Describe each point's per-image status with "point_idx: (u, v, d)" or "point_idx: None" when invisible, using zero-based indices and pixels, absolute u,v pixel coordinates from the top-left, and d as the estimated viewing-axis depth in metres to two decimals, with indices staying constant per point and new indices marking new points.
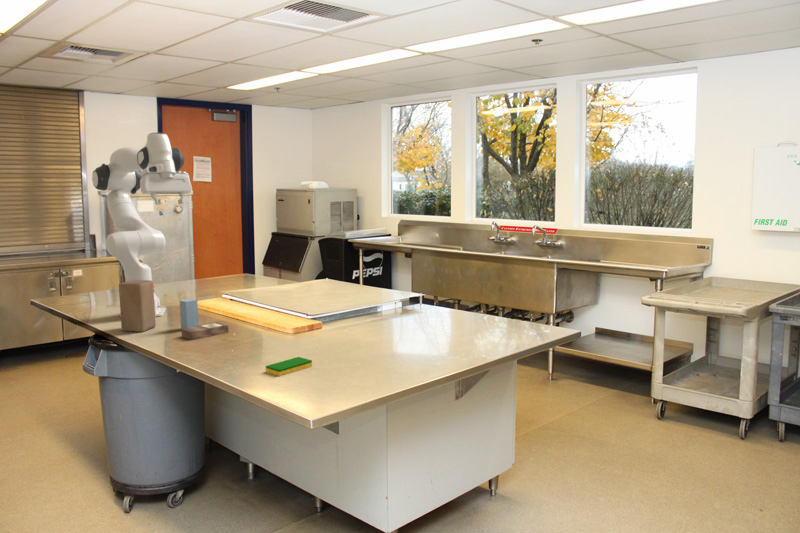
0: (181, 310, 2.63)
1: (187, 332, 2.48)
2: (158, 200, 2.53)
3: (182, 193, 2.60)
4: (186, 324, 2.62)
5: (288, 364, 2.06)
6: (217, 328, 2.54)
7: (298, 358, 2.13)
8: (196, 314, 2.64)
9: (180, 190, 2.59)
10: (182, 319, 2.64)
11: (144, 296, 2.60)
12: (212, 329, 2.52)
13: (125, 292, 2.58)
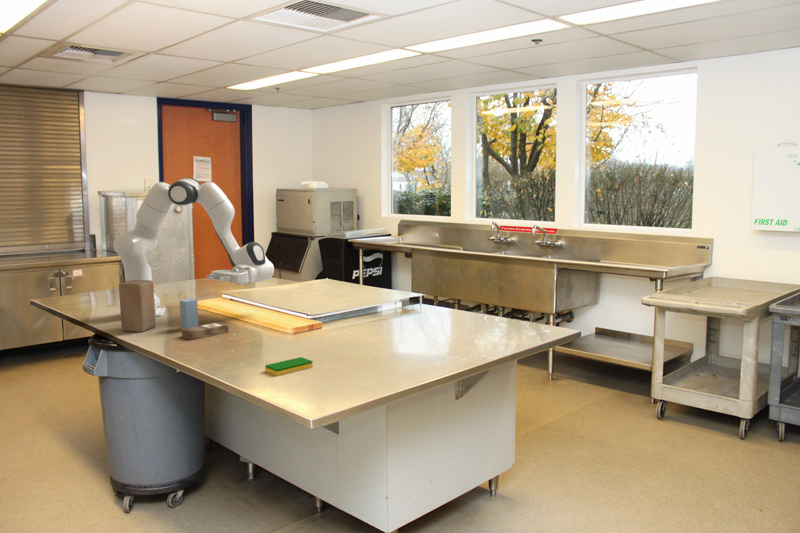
0: (181, 310, 2.63)
1: (187, 332, 2.48)
2: (222, 281, 2.69)
3: (214, 278, 2.78)
4: (186, 324, 2.62)
5: (287, 364, 2.06)
6: (217, 328, 2.54)
7: (300, 358, 2.12)
8: (196, 314, 2.64)
9: (218, 279, 2.79)
10: (182, 319, 2.64)
11: (144, 296, 2.60)
12: (212, 329, 2.52)
13: (125, 292, 2.58)
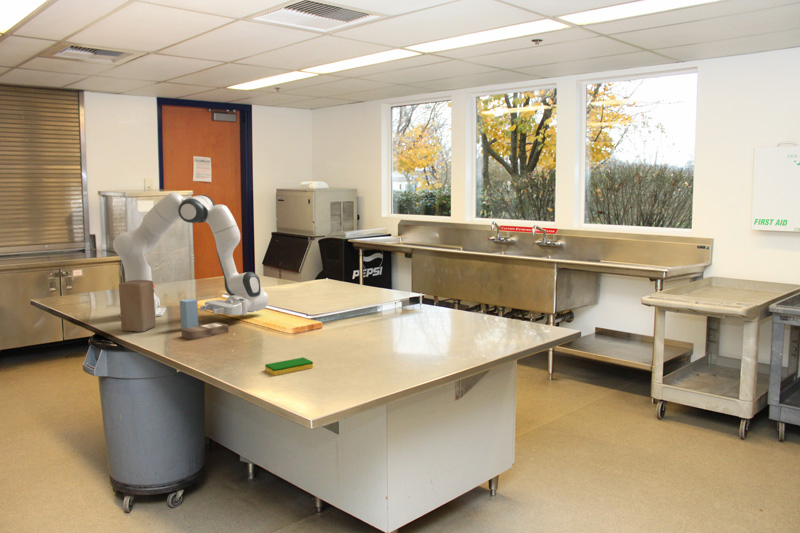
0: (181, 310, 2.63)
1: (187, 332, 2.48)
2: None
3: (208, 309, 2.78)
4: (186, 324, 2.62)
5: (287, 364, 2.06)
6: (217, 328, 2.54)
7: (302, 358, 2.12)
8: (196, 314, 2.64)
9: (212, 310, 2.78)
10: (182, 319, 2.64)
11: (144, 296, 2.60)
12: (212, 329, 2.52)
13: (125, 292, 2.58)
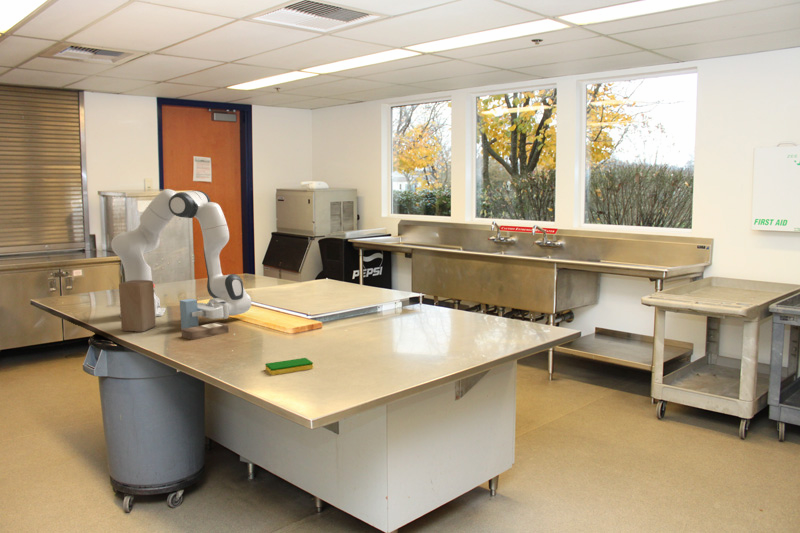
0: (181, 310, 2.63)
1: (187, 332, 2.48)
2: None
3: None
4: (186, 324, 2.62)
5: (286, 364, 2.06)
6: (217, 328, 2.54)
7: (303, 359, 2.11)
8: None
9: None
10: (182, 319, 2.64)
11: (144, 296, 2.60)
12: (212, 329, 2.52)
13: (125, 292, 2.58)
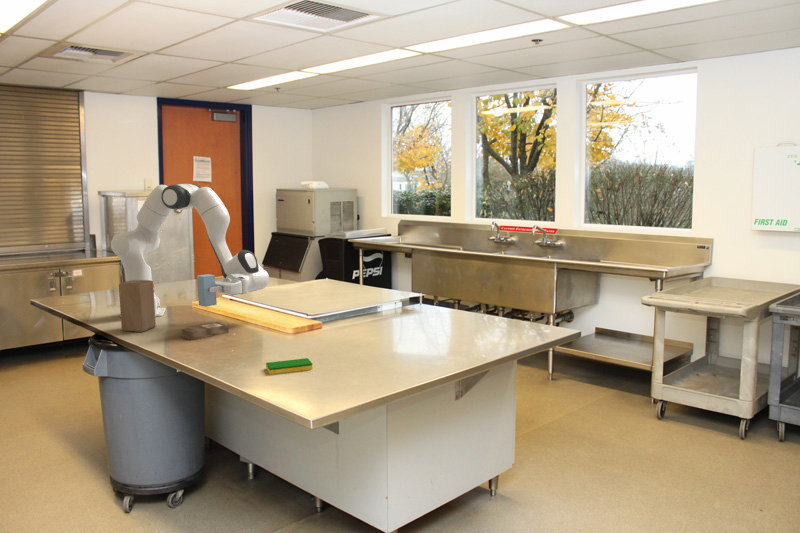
0: (198, 286, 2.55)
1: (187, 332, 2.48)
2: (212, 291, 2.55)
3: None
4: (204, 300, 2.54)
5: (286, 364, 2.06)
6: (217, 328, 2.54)
7: (305, 359, 2.11)
8: None
9: None
10: (200, 295, 2.55)
11: (144, 296, 2.60)
12: (212, 329, 2.52)
13: (125, 292, 2.58)
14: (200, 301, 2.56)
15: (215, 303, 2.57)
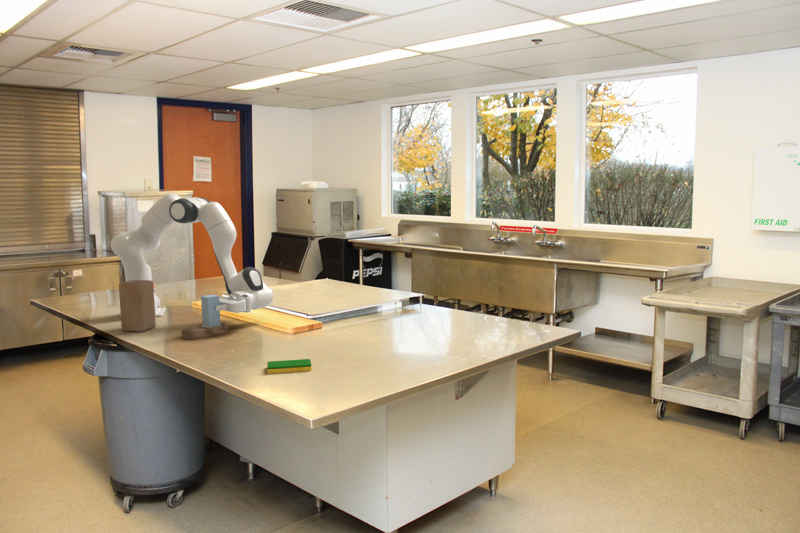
0: (203, 306, 2.55)
1: (187, 332, 2.48)
2: None
3: None
4: (208, 321, 2.53)
5: (285, 364, 2.06)
6: (217, 328, 2.54)
7: (306, 360, 2.10)
8: None
9: None
10: (204, 316, 2.55)
11: (144, 296, 2.60)
12: (212, 329, 2.52)
13: (125, 292, 2.58)
14: (204, 322, 2.55)
15: (219, 324, 2.56)
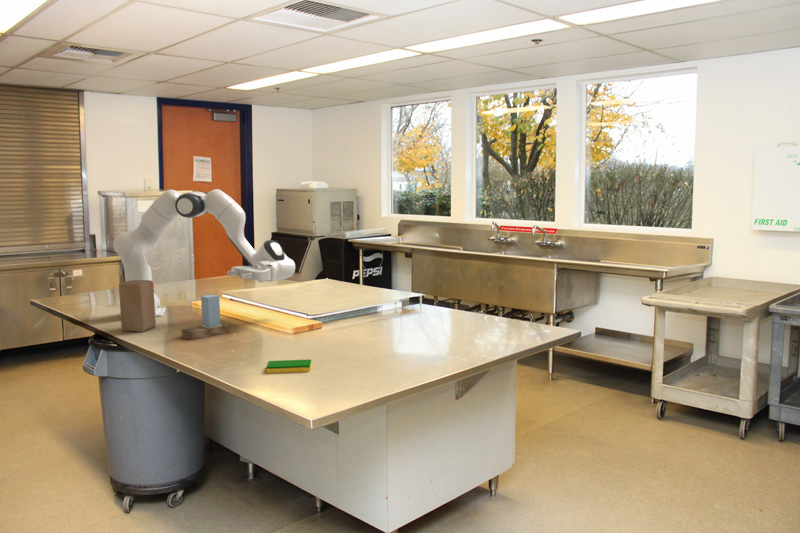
0: (203, 306, 2.55)
1: (187, 332, 2.48)
2: None
3: (235, 274, 2.70)
4: (208, 321, 2.53)
5: (285, 364, 2.06)
6: (217, 328, 2.54)
7: (306, 360, 2.10)
8: (217, 310, 2.55)
9: None
10: (204, 316, 2.55)
11: (144, 296, 2.60)
12: (212, 329, 2.52)
13: (125, 292, 2.58)
14: (204, 322, 2.55)
15: (219, 324, 2.56)
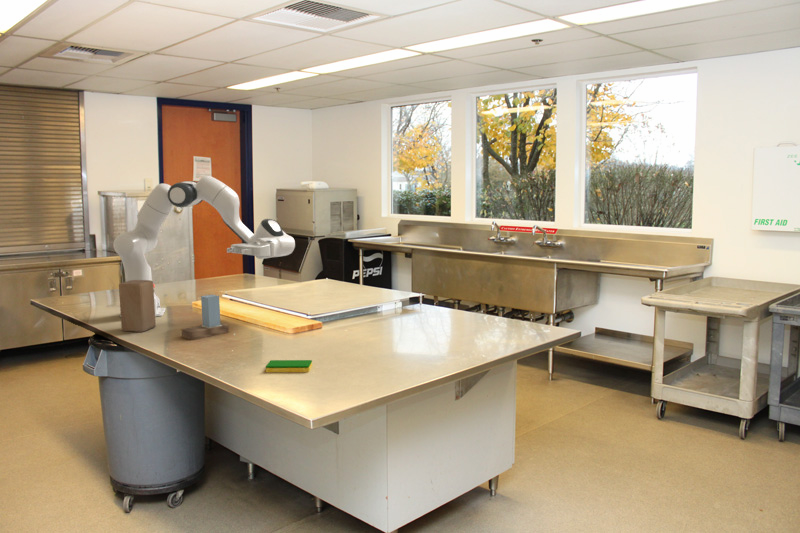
0: (203, 306, 2.55)
1: (187, 332, 2.48)
2: (243, 253, 2.60)
3: (235, 252, 2.69)
4: (208, 321, 2.53)
5: (284, 363, 2.06)
6: (217, 328, 2.54)
7: (307, 361, 2.09)
8: (217, 310, 2.55)
9: (238, 253, 2.69)
10: (204, 316, 2.55)
11: (144, 296, 2.60)
12: (212, 329, 2.52)
13: (125, 292, 2.58)
14: (204, 322, 2.55)
15: (219, 324, 2.56)
